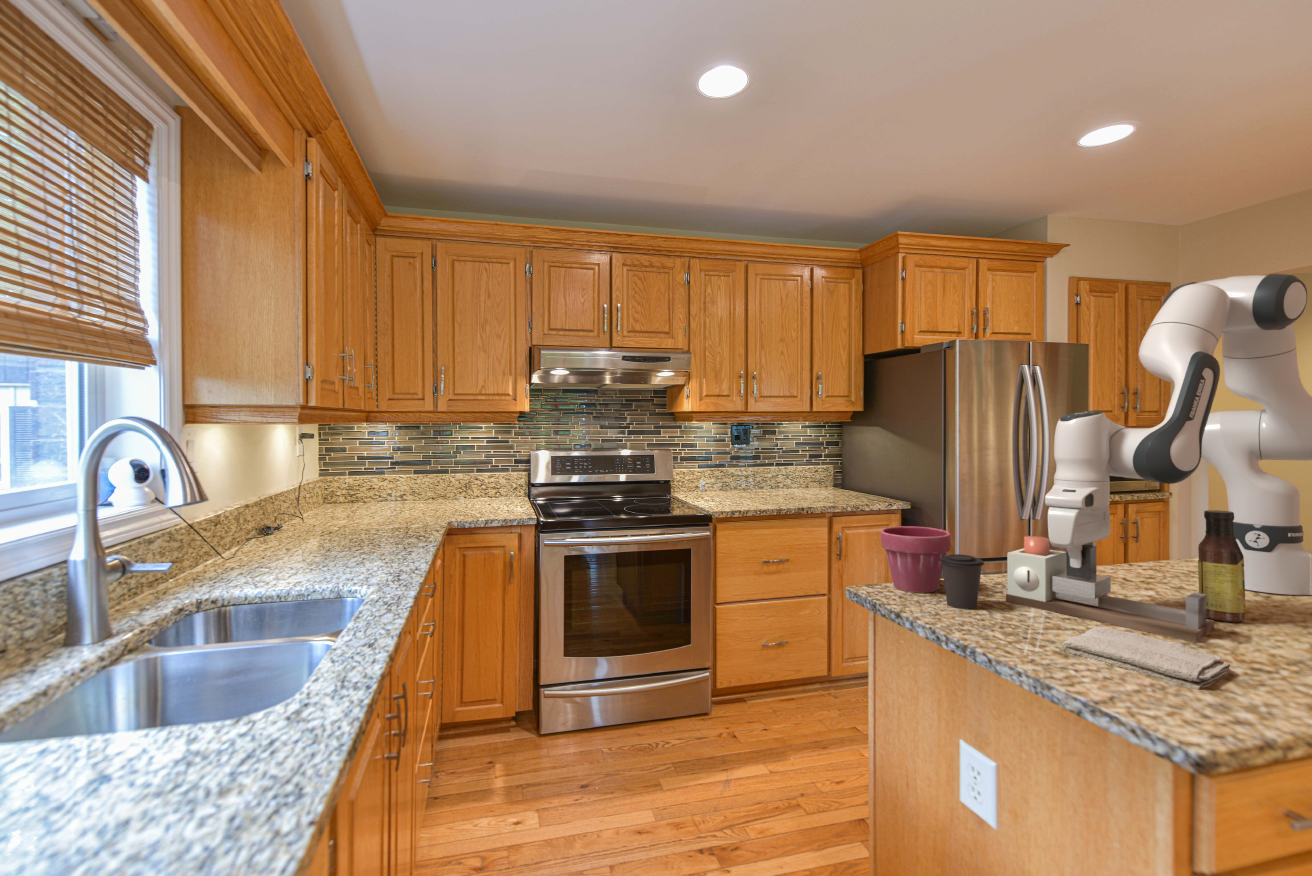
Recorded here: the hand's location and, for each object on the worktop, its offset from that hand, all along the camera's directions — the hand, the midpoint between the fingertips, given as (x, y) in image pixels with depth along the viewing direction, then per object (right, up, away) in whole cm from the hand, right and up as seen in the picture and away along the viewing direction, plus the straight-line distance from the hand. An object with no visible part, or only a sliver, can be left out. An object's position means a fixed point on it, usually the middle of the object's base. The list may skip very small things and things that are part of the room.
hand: (1081, 565), depth 116 cm
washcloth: (-9, -10, -25) cm, 28 cm away
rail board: (+2, -9, -3) cm, 9 cm away
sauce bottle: (+22, -9, -6) cm, 24 cm away
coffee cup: (-21, -9, +4) cm, 23 cm away
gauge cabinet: (-5, -9, +6) cm, 12 cm away
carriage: (0, -7, 0) cm, 7 cm away
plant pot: (-25, -9, +18) cm, 32 cm away
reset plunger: (-5, -1, +6) cm, 8 cm away
